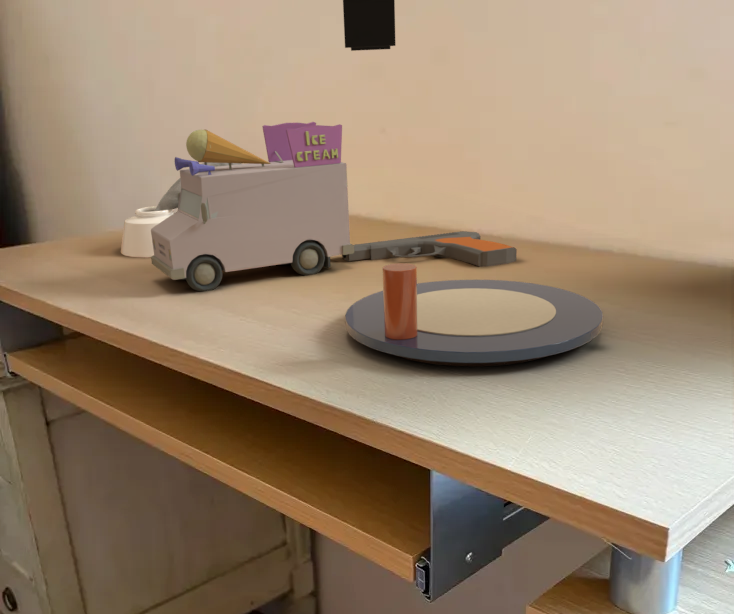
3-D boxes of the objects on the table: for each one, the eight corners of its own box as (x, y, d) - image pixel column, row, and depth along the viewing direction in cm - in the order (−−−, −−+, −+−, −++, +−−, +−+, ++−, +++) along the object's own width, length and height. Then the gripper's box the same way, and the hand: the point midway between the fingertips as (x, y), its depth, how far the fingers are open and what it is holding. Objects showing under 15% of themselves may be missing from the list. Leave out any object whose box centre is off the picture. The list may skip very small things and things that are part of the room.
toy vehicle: (152, 281, 87) (131, 131, 81) (322, 256, 95) (314, 118, 89) (176, 300, 79) (155, 136, 73) (358, 272, 87) (352, 122, 81)
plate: (651, 315, 65) (659, 241, 63) (492, 385, 53) (494, 296, 50) (457, 277, 79) (457, 215, 76) (293, 325, 66) (288, 253, 64)
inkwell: (108, 251, 102) (95, 168, 98) (235, 230, 112) (228, 153, 108) (140, 263, 95) (128, 173, 91) (272, 239, 105) (266, 157, 102)
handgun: (384, 283, 82) (341, 260, 93) (521, 263, 88) (466, 244, 98) (384, 265, 82) (340, 244, 92) (521, 246, 87) (466, 229, 97)
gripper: (302, -299, 54) (321, 52, 62) (250, -563, 31) (291, 48, 39) (416, -304, 54) (420, 48, 62) (449, -574, 31) (449, 41, 39)
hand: (370, 49), depth 51 cm, fingers open, 13 cm apart
